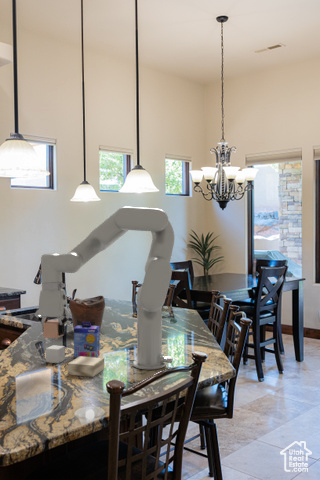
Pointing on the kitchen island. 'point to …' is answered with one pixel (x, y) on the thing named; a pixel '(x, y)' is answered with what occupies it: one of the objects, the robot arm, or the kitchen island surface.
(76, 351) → the ink cartridge box
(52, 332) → the terracotta cube
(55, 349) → the pale grey cube
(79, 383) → the kitchen island surface
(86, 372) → the maple base block
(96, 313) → the brown tapered pot
